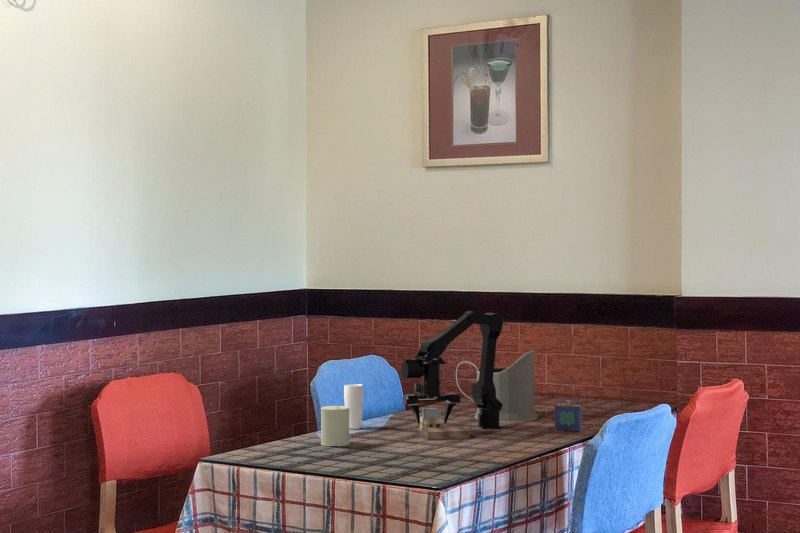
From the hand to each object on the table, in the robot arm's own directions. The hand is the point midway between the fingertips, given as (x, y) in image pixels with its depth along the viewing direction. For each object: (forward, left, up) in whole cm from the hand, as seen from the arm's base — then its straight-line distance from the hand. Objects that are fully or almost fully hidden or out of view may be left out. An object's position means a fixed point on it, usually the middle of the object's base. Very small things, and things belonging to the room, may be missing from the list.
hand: (431, 424), depth 334 cm
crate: (0, 0, +2) cm, 2 cm away
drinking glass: (+24, -15, -3) cm, 29 cm away
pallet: (0, 0, -3) cm, 3 cm away
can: (+35, +14, -3) cm, 38 cm away
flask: (-45, +10, -3) cm, 46 cm away
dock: (-2, +10, -3) cm, 11 cm away
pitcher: (-32, -29, -3) cm, 43 cm away
